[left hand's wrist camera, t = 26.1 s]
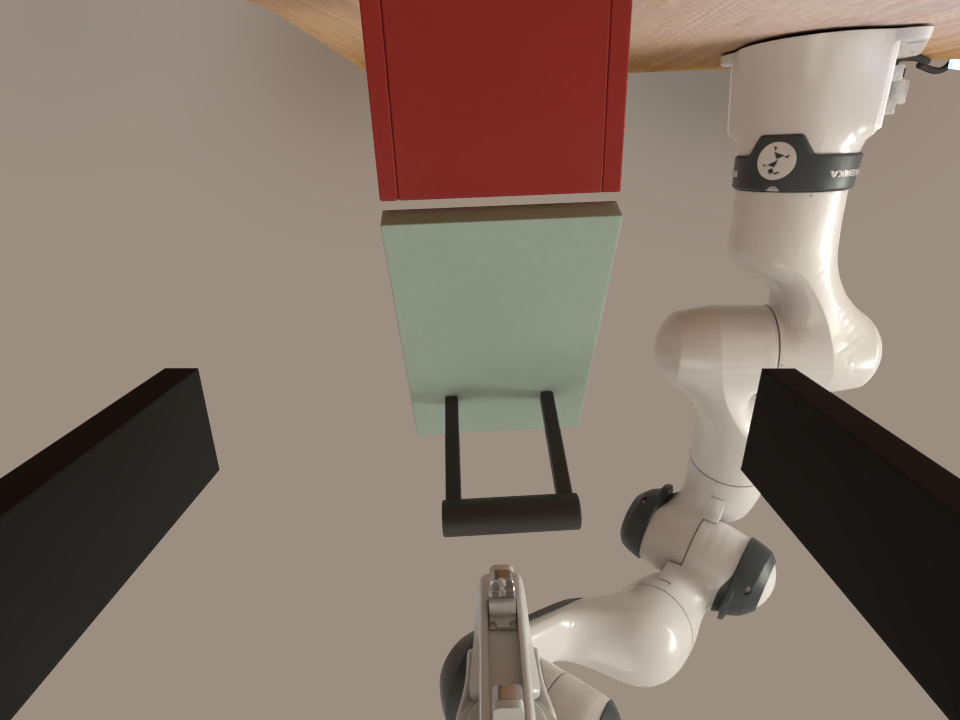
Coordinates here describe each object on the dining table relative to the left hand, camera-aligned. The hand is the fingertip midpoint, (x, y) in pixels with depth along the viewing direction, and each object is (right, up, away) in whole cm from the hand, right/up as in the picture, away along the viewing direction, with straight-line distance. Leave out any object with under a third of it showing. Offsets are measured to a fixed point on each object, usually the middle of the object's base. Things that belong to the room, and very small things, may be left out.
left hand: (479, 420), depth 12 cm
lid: (+1, +3, +14) cm, 14 cm away
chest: (0, +20, +10) cm, 23 cm away
